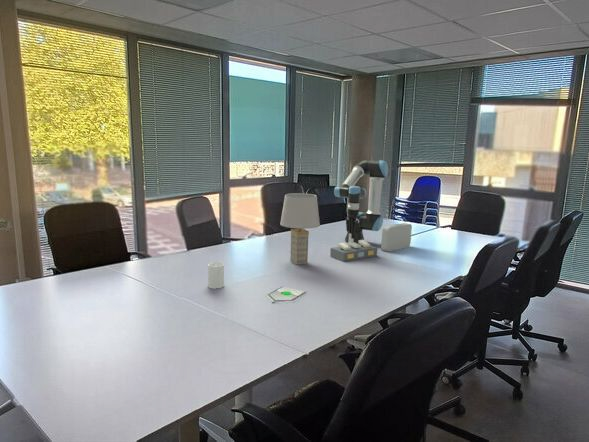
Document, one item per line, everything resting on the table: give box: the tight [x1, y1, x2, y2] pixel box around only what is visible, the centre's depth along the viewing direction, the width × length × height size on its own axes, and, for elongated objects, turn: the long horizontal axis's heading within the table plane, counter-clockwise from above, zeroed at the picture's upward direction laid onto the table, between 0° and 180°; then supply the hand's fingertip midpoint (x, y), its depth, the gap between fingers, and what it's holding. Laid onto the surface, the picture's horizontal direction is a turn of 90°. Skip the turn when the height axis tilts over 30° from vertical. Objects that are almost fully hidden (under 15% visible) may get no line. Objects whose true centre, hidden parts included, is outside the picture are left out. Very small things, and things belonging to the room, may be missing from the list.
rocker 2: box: [347, 242, 361, 248], centre depth 282 cm, size 8×4×2 cm, turn 33°
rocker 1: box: [337, 242, 351, 250], centre depth 278 cm, size 8×4×2 cm, turn 33°
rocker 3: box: [357, 239, 371, 248], centre depth 287 cm, size 8×4×2 cm, turn 33°
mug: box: [207, 261, 225, 290], centre depth 218 cm, size 12×8×12 cm
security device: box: [266, 285, 308, 302], centre depth 205 cm, size 17×22×2 cm
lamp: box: [279, 192, 321, 265], centre depth 262 cm, size 25×25×44 cm
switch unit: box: [329, 243, 378, 263], centre depth 283 cm, size 15×30×7 cm, turn 123°
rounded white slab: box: [380, 222, 413, 253], centre depth 308 cm, size 29×8×18 cm, turn 129°
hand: (350, 242), depth 285 cm, fingers closed, pressing on rocker 2
